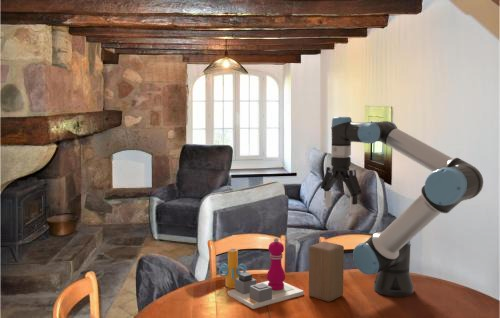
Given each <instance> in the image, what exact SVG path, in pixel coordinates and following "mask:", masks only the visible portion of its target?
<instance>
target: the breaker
mask: <svg viewBox="0 0 500 318" xmlns="http://www.w3.org/2000/svg"><path fill="white" fill-rule="evenodd" d="M252 278H253V274H252V273H249V272H248V271H246V272H245V273H241V274H239V280H241V281H243V282H246V281H250V280H252Z"/></svg>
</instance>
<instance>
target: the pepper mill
mask: <svg viewBox="0 0 500 318" xmlns="http://www.w3.org/2000/svg"><path fill="white" fill-rule="evenodd" d="M284 251H285V247H284V244H283V243H282V242H281V241H279V238H278V237H275V238H274V239H273V242H271V243H269V245H268V252H269V258H270V267H269V268H268V270H267V273H266V280H267V281H269V283H268V286H270V287H272V290H282V289H284V283H283V282H285V279H286V274H285V273H286V272H285V271H284V269H283V266H282V259H283V258H284V257H283V253H284Z"/></svg>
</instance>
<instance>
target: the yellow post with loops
mask: <svg viewBox="0 0 500 318" xmlns="http://www.w3.org/2000/svg"><path fill="white" fill-rule="evenodd" d="M238 252H239V250H238V249H237V248H228V249H227V263H221V265H220V266H219V269H218V275H219V276H220V277H221V278H225V287H227V288H228V289H235V278H239V274H241V273H245V272H247V270H248V268H247V265H246V264H244V263H240V264H239V262H238V261H239V257H238V256H239V255H238V254H239V253H238ZM223 269H225V270H226V271H225V270H223ZM240 270H242V271H240ZM221 272H222V273H223V274H222V273H221Z"/></svg>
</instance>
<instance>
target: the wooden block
mask: <svg viewBox="0 0 500 318" xmlns="http://www.w3.org/2000/svg"><path fill="white" fill-rule="evenodd" d="M344 250H345V248H344V245H341V244H337V243H333V242H329V241H320V242H317V243H315V244H312V245H310V246H309V247H308V296H309V297H312V298H315V299H318V300H322V301H324V302H328V303H330V302H333V301H334V300H336V299H338V298H340V297H342V296H343V294H344V264H345V263H344V262H345V261H344V259H345V258H344V257H345V251H344Z"/></svg>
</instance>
